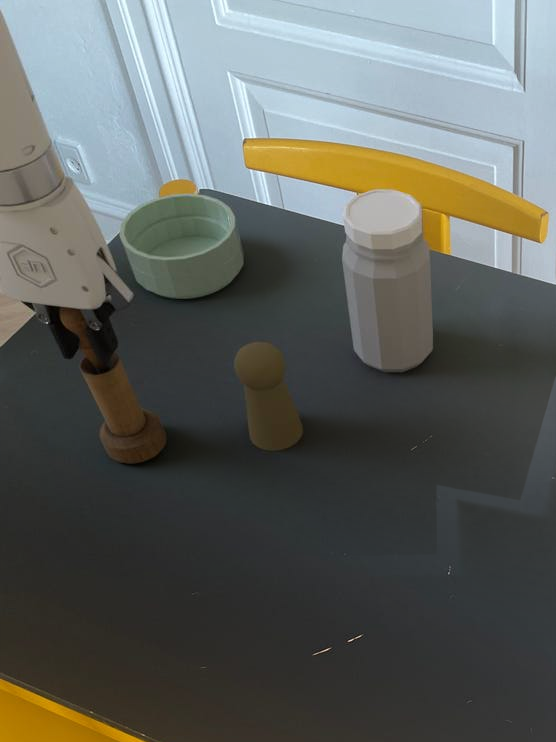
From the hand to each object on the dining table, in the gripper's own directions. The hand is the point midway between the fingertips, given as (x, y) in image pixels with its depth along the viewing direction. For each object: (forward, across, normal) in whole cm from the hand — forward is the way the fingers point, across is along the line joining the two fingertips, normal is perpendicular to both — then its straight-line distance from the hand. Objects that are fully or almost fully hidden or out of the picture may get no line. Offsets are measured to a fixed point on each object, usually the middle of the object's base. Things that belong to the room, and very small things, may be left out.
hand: (91, 350), depth 88 cm
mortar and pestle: (+13, +1, 0) cm, 13 cm away
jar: (+13, +25, +21) cm, 35 cm away
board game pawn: (+13, +15, +5) cm, 21 cm away
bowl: (+13, -5, +32) cm, 35 cm away
